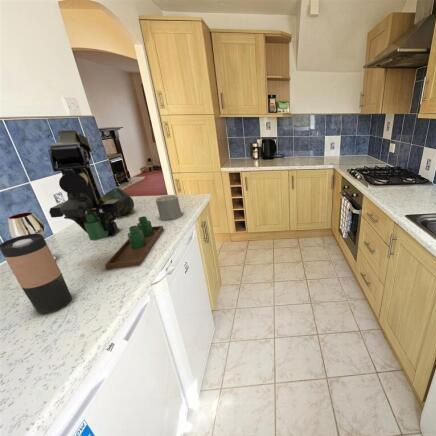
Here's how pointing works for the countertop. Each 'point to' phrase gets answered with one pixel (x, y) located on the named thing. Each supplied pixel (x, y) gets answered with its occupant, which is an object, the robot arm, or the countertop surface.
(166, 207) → the coffee mug
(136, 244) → the bottle middle
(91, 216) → the green bottle
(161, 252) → the countertop surface
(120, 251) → the tray
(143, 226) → the bottle near
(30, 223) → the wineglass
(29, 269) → the travel mug
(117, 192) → the squash
